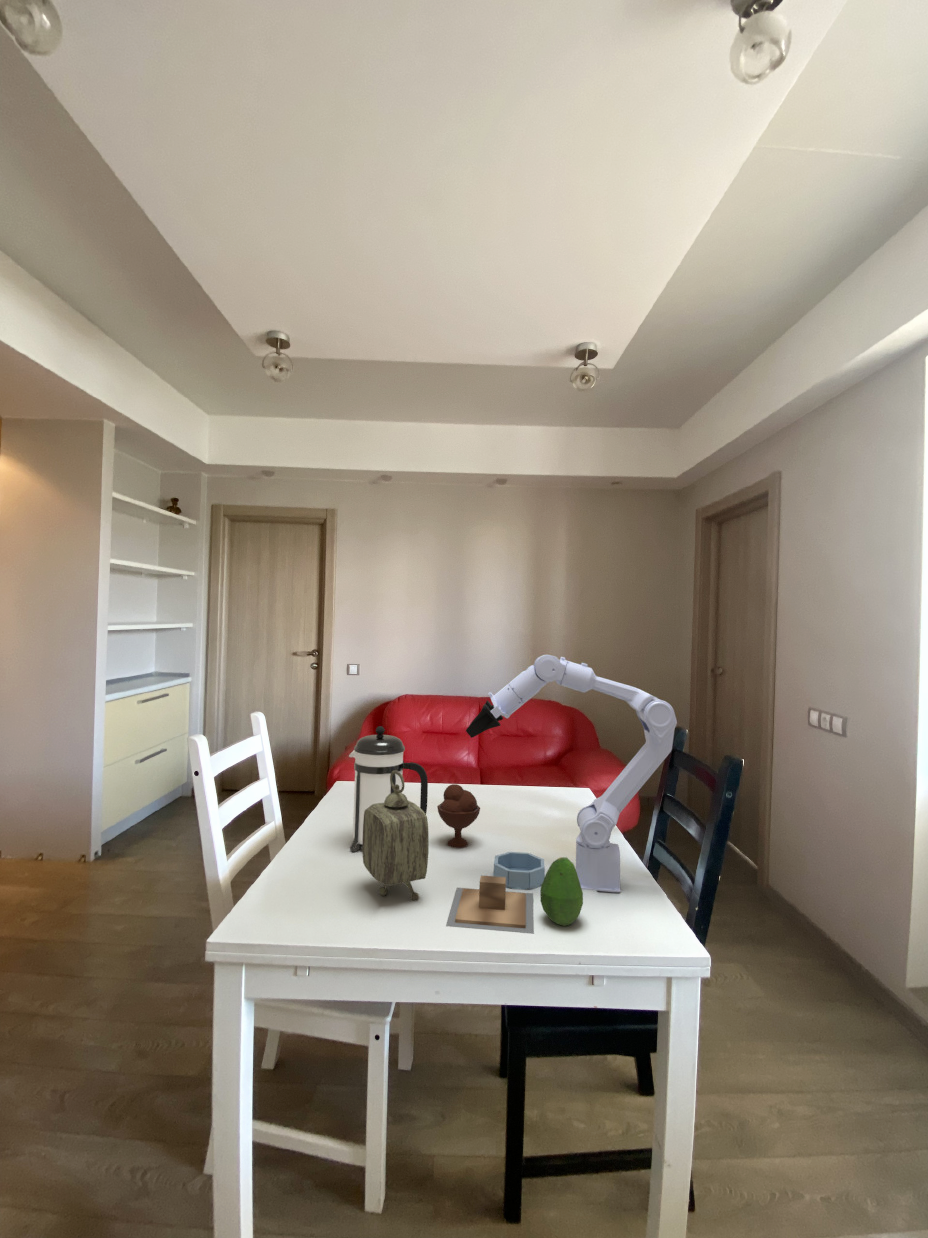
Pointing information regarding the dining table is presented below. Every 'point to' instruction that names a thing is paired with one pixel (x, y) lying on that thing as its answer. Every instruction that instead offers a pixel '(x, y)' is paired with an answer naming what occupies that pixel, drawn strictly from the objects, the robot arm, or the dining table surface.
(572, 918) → the avocado
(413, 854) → the tabletop clock
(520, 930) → the mat
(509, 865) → the bowl
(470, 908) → the cover board
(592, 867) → the robot arm
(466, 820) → the ice cream bowl
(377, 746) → the coffee press
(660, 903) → the dining table surface
